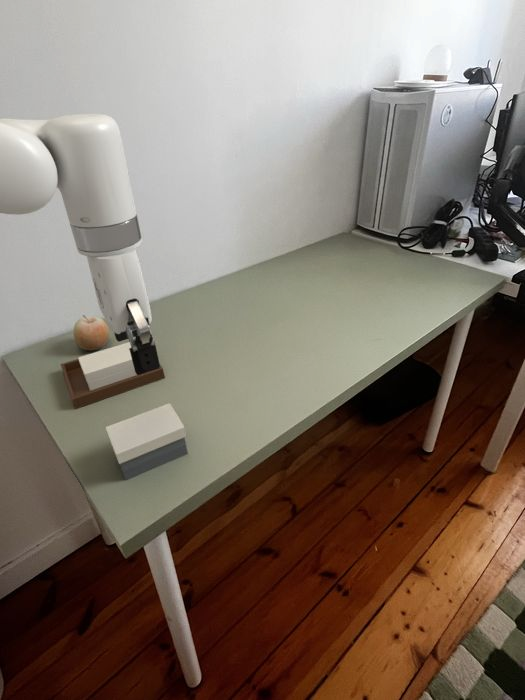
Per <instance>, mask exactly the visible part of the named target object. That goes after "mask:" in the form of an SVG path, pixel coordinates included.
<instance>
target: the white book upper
mask: <svg viewBox="0 0 525 700" xmlns="http://www.w3.org/2000/svg"><path fill="white" fill-rule="evenodd" d="M129 348H132V347H131V345H130V342H129V341H128V342H124V343H122V344H121V343H120V344H118V345H115V346H111V347H108V348H105V349H101V350H99V351H95V352H93V353H88V354H85V355H82V356H79V357H77V359H79V362H80V365H81V368H82V371H83V373H84V376H85V378H86V381H87V383H88V382H91V381H94V380H97V379H100V378H103V377H106V376H109V375H112V374H115V373H118V372H121V371H124V370H128V369H131V368H134V365H133V362H132V358H131V354H130V350H129Z"/></svg>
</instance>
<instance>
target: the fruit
mask: <svg viewBox="0 0 525 700" xmlns="http://www.w3.org/2000/svg"><path fill="white" fill-rule="evenodd" d="M109 337H110V330H109V325H108V323H107V322H106V321H104V319H102V318H100V317H98V316H97V317H96V316H85V314H83V315H82V317H81V318H79V319H78V320H77V321H76V322H75V324H74V326H73V338H74V341H75V343H76V344H77V346H78V347H79V348H81V349H83V350H85V351H97V350H101V349H102V348H103V347H104V346H106V344H107V343H108V340H109Z"/></svg>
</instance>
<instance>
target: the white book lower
mask: <svg viewBox="0 0 525 700" xmlns="http://www.w3.org/2000/svg"><path fill="white" fill-rule="evenodd" d="M83 374H84V373H83ZM136 375H137V374H136V372H135V369H134V368H131V369H128V370H124V371H121V372H118V373H115V374H112V375H109V376H106V377H103V378H100V379H97V380H94V381H91V382H88V383H87V384H88V387H89V390H90V391H91V390H94V389H97V388H100V387H103V386H106V385H109V384H112V383H115V382H118V381H121V380H124V379H127V378H130V377H133V376H136ZM84 377H85V376H84ZM85 379H86V378H85ZM86 382H87V381H86Z"/></svg>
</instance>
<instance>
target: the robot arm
mask: <svg viewBox="0 0 525 700" xmlns="http://www.w3.org/2000/svg"><path fill="white" fill-rule="evenodd" d="M119 127H120V126H119V125H118V123H117V122H116V120H115V119H114V118H113V117H111V116H110V115H108V114H104V113H80V114H79V113H77V114H68V115H61V116H57V117H54V118H51V119H22V118H21V119H20V118H4V117H3V118H2V117H1V118H0V214H4V215H5V214H6V215H17V216H18V215H28V214H31V213H34V212H38V211H39V210H41V209H43V208H44V207H45V206H47V205H48V203H50V202H51V200H52V199H53V197H54V196H55V193H56V190H57V188H58V190H59V192H60V194H61V198H62V201H63V204H64V207H65V211H66V215H67V218H68V221H69V225H70V229H71V232H72V237H73V240H74V243H75V246H76V249H77V253H79V255H81V256H84V257H86V258H87V263H88V264H87V265H88V268H89V271H90V275H91V279H92V283H93V288H94V291H95V296H96V301H97V304H98V307H99V309H100V312H101V314H102V315H103V317H104V319H105V322H106V324H107V325H108V327H109V328H110V330H111V331H112V332H113V333H114V337H115V340H116V341H117V342H122V341H126V340H128V342H130V345H131V347H132V348H129V350H130V354H131V358H132V362H133V365H134V369H135V372H136V374H137V375H141V374H144V373H147V372H149V371H152V370H155V369H158V368H159V367H160V365H161V363H160V360H159V356H158V351H157V346H156V342H155V339H154V337H153V336H154V335H153V333H152V330H151V328H150V325H151V323H152V321H153V318H152V317H153V315H152V310H151V306H150V300H149V296H148V292H147V287H146V283H145V278H144V275H143V271H142V266H141V265H142V264H141V263H140V260H139V256H138V253H137V248H140V246H141V245H142V244H143V237H142V232H141V227H140V223H139V218H138V213H137V208H136V203H135V199H134V193H133V189H132V185H131V178H130V174H129V169H128V165H127V159H126V154H125V150H124V149H125V148H124V145H123V139H122V134H121V131H120V128H119ZM159 363H160V364H159Z"/></svg>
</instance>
